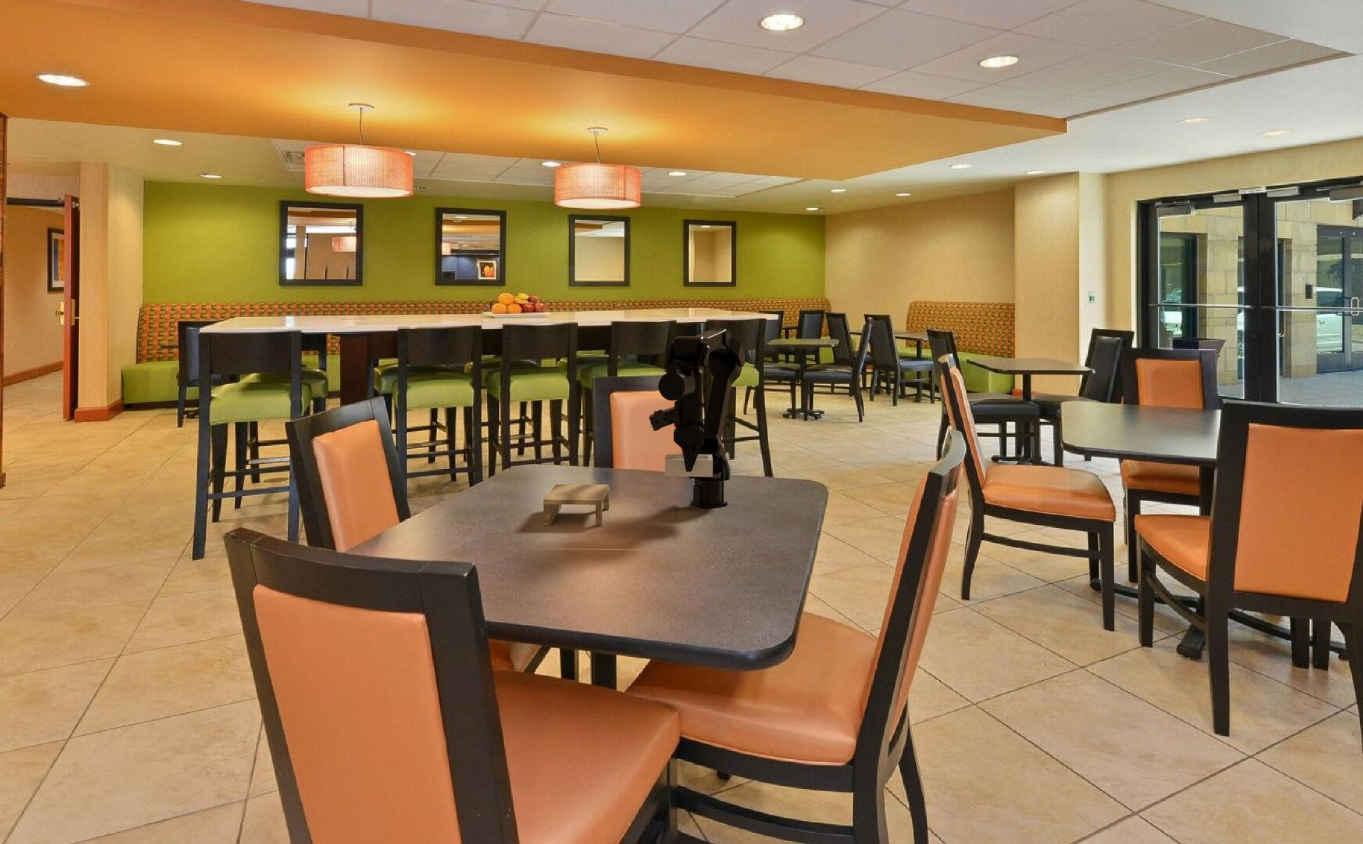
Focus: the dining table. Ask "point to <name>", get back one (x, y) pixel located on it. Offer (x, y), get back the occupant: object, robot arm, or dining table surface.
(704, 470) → the beige tray
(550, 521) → the oak shelf
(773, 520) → the dining table surface
